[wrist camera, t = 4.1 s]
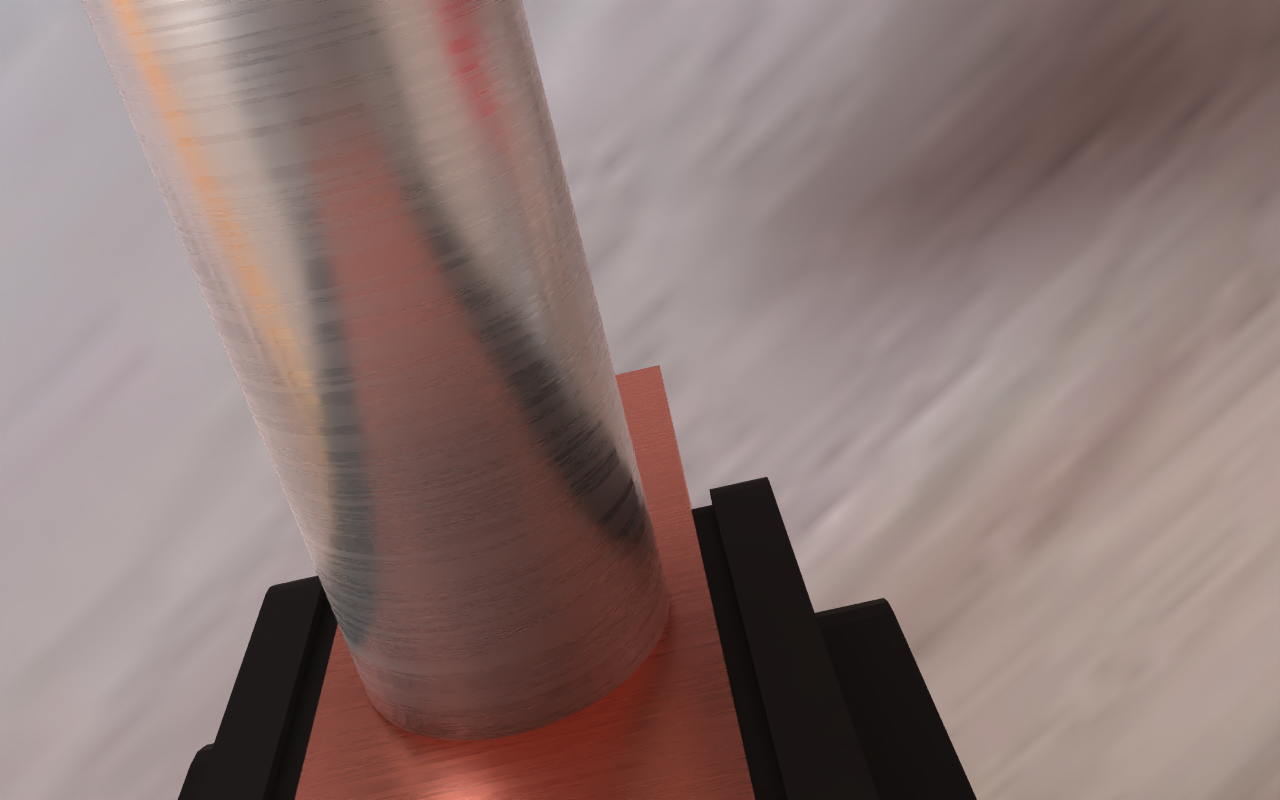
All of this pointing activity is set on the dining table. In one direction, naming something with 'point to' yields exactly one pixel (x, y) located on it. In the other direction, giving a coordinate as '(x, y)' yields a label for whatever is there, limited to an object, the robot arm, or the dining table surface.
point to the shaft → (437, 398)
